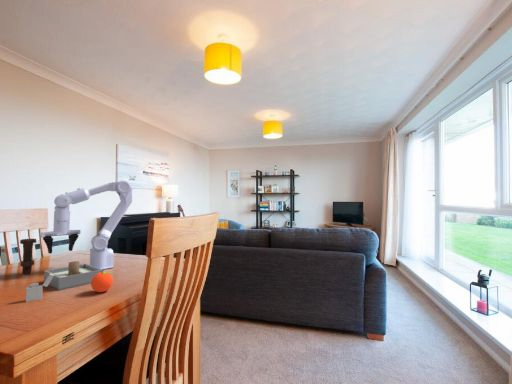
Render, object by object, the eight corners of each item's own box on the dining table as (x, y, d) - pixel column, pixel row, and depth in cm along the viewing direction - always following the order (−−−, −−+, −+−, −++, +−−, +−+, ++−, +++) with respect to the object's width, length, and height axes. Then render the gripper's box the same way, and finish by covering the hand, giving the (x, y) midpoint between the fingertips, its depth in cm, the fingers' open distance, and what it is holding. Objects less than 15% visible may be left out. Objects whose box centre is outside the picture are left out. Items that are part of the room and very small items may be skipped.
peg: (75, 278, 107) (76, 261, 108) (80, 279, 106) (81, 262, 106) (66, 280, 104) (66, 262, 104) (71, 281, 103) (72, 263, 103)
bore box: (85, 273, 116) (86, 263, 116) (102, 280, 106) (102, 269, 107) (43, 282, 104) (44, 270, 104) (58, 290, 94) (59, 278, 94)
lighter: (25, 302, 84) (26, 276, 84) (25, 300, 85) (26, 275, 85) (53, 297, 88) (54, 273, 89) (53, 295, 90) (54, 272, 90)
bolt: (24, 275, 111) (25, 240, 112) (15, 274, 112) (16, 240, 113) (38, 272, 117) (39, 238, 118) (29, 271, 118) (30, 238, 119)
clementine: (111, 286, 100) (111, 267, 100) (119, 290, 95) (119, 271, 96) (87, 291, 94) (88, 272, 94) (94, 296, 89) (95, 275, 89)
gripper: (76, 220, 125) (75, 248, 125) (38, 221, 113) (37, 253, 113) (82, 220, 121) (81, 250, 121) (44, 222, 109) (42, 255, 109)
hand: (60, 251), depth 117 cm, fingers open, 7 cm apart
